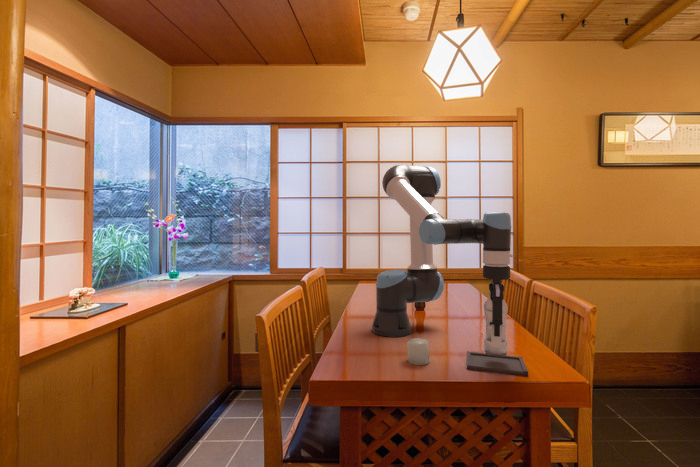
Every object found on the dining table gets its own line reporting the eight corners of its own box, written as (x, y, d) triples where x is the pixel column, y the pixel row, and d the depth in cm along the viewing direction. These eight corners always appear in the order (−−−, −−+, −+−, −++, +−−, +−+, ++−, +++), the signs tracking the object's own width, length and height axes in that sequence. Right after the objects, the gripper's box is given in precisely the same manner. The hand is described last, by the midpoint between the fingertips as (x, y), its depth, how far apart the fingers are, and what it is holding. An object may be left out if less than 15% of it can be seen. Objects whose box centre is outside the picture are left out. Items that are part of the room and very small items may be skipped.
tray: (466, 369, 107) (466, 365, 107) (467, 355, 119) (467, 351, 119) (528, 376, 102) (528, 372, 102) (522, 360, 114) (522, 356, 114)
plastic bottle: (505, 361, 106) (506, 291, 105) (481, 357, 109) (481, 289, 109) (509, 354, 111) (510, 288, 111) (486, 350, 115) (486, 286, 114)
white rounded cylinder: (408, 364, 111) (407, 344, 110) (407, 357, 117) (407, 338, 117) (430, 365, 110) (429, 344, 110) (428, 357, 116) (427, 338, 116)
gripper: (514, 269, 99) (513, 355, 100) (507, 262, 117) (506, 335, 118) (484, 268, 102) (483, 352, 102) (481, 261, 120) (481, 332, 120)
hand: (495, 342), depth 110 cm, fingers closed on plastic bottle, 6 cm apart
